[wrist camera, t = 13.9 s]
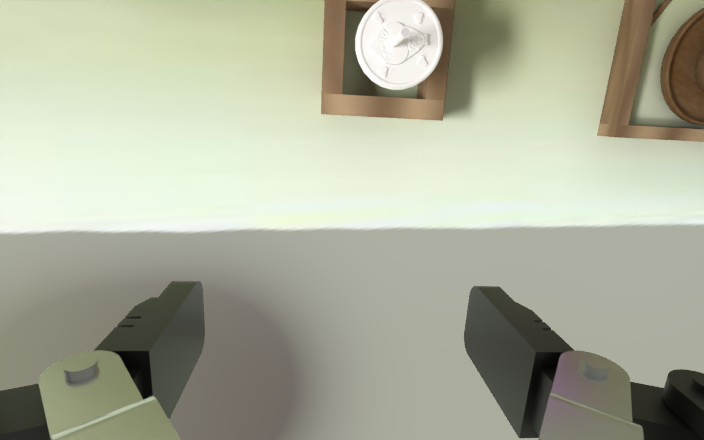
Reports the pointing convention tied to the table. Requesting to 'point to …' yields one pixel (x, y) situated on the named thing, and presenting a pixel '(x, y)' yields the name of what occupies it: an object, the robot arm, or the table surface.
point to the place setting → (685, 69)
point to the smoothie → (399, 43)
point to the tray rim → (633, 79)
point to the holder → (356, 87)
